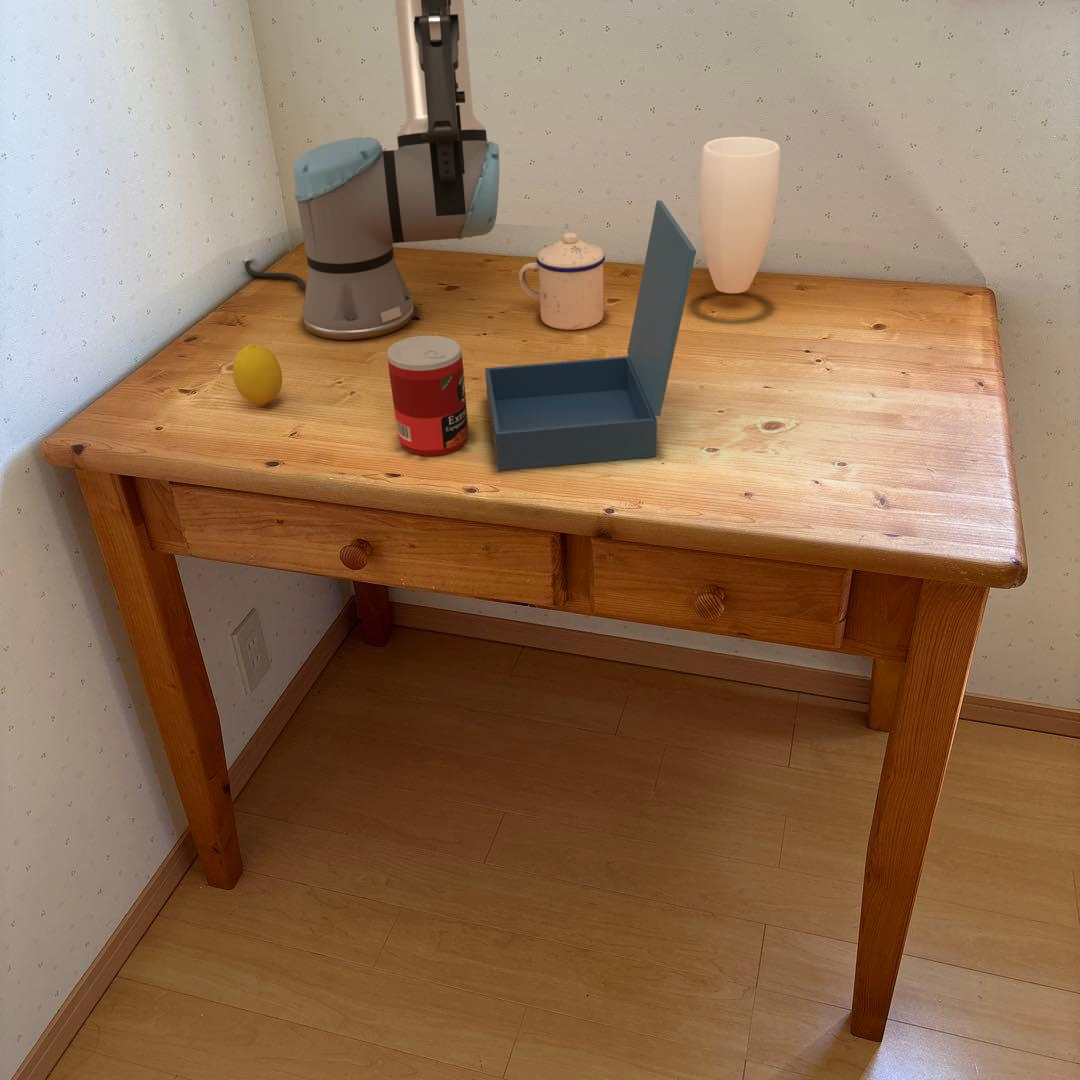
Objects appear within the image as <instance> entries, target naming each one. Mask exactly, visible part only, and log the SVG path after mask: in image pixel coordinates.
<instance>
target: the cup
mask: <svg viewBox="0 0 1080 1080" xmlns="http://www.w3.org/2000/svg"><path fill="white" fill-rule="evenodd" d="M780 163H781V147H780V145H779V144H778V143H777V142H776V141H773V140H770V139H769V138H768V139H767V138H762V137H756V136H728V137H727V136H726V137H722V138H721V137H720V138H716V139H713V140H710V141H707V142H706V143H705V145H703V147H702V149H701V162H700V174H699V185H698V188H699V189H698V190H699V191H698V192H699V194H698V197H699V199H698V203H699V204H698V206H699V207H698V208H699V209H698V211H699V213H698V214H699V215H698V216H699V217H698V218H699V220H698V221H699V228H700V234H701V240H702V247H703V253H704V257H705V261H706V265H707V268H708V272H709V275H710V278H711V280H712V282H713V286H714V288H715V289H716V290H717V291H719V292H721V293H725V294H740V293H744V292H746V291H749V289H750V287H751V285H752V283H753V281H754V279H755V277H756V276H757V273H758V271H759V268H760V266H761V263H762V261H763V259H764V256H765V254H766V250H767V247H768V244H769V240H770V237H771V234H772V230H773V227H774V224H775V223H774V222H775V216H776V209H777V202H778V201H777V200H778V193H779V183H780V165H781V164H780Z"/></svg>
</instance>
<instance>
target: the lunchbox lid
mask: <svg viewBox="0 0 1080 1080" xmlns="http://www.w3.org/2000/svg"><path fill="white" fill-rule="evenodd" d="M696 254H697V249H696V248H695V246H694V245H693V243H692V242H691V240H690V239H689V238H688V236H687V235H686V233H685V232H684V230H683V229H682V228H681V226H680V225H679V223H678V222H677V220H676V219H675V218H674V216H673V215H672V213H671V211H670V210H669V209H668V207H667V206H666V204H665V203H664V202H663V200H659V199H658V200H656V203H655V207H654V213H653V218H652V223H651V229H650V234H649V238H648V244H647V248H646V254H645V259H644V264H643V269H642V275H641V279H640V285H639V289H638V295H637V300H636V305H635V310H634V316H633V321H632V325H631V332H630V337H629V342H628V347H627V356H629V358H630V360H631V363H632V365H633V367H634V369H635V372H636V374H637V376H638V379H639V381H640V383H641V386H642V388H643V390H644V393H645V395H646V397H647V400H648V402H649V404H650V407H651V409H652V411H653V413H654V416H656V417H661V413H662V409H663V408H662V407H663V405H664V400H665V396H666V395H665V394H666V392H667V391H666V390H667V386H668V381H669V377H670V372H671V368H672V363H673V358H674V354H675V349H676V345H677V340H678V336H679V331H680V328H681V327H680V326H681V322H682V318H683V315H684V314H683V313H684V308H685V304H686V300H687V296H688V290H689V286H690V283H691V277H692V274H693V273H692V272H693V267H694V264H695V259H696Z"/></svg>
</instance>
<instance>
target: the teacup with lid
mask: <svg viewBox="0 0 1080 1080" xmlns="http://www.w3.org/2000/svg"><path fill="white" fill-rule="evenodd" d="M605 255H606V254H605V253H604V251H603V250H602V248H601V247H599V246H598V245H595V244H592V243H589V242H585V241H584V240H581V239H579V237H578V234H577V233H575V232H566V233H564V234H563V235H562V240H561V239H560V240H559V241H557V242H555V243H554V244H553V243H552V244H550V245H547V246H545V247H543V248H541V250H540V251H539V252H538V253H537V257H536V262H528V263H526V264H524V265H523V266H522V267H521V268H520V270H519V271H518V281H519V286H520V287H521V290H522V291H523V293H524V294H525V295H526V296H528V297H529V298H531V299H533V300H536V301H537V300H538V301H539V304H540V305H539V306H540V307H539V309H540V319H541V321H542V322H543V323H544V325H547V326H548V327H550V328H554V329H558V330H565V331H576V330H577V331H578V330H583V329H584V330H585V329H587V328H591V327H594V326H595V325H597V324H599V323H600V322H601V321H602V320H603V318H604V316H605V315H604V314H605V313H604V311H605V310H604V309H605V308H604V307H605V303H604V302H605V301H604V262H605V260H606V256H605ZM529 270H534V271H536V270H537V271H538V283H539V284H538V285H539V292H538V291H535V290H533V289H532V288H531V287H530V286H529V284H528V282H527V278H526V272H527V271H529Z"/></svg>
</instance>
